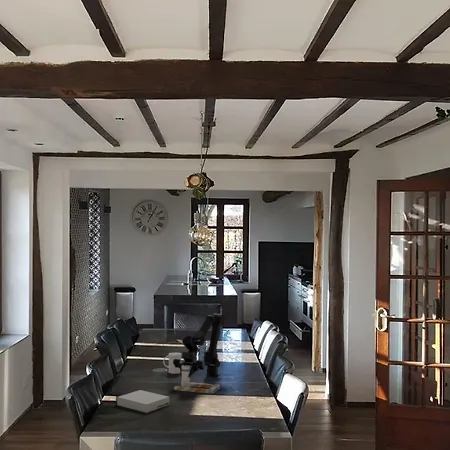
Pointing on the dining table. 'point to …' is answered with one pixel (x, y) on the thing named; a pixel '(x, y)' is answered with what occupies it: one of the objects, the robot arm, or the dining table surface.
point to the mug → (171, 366)
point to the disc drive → (142, 400)
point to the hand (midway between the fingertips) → (184, 376)
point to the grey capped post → (185, 376)
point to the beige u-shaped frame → (201, 390)
